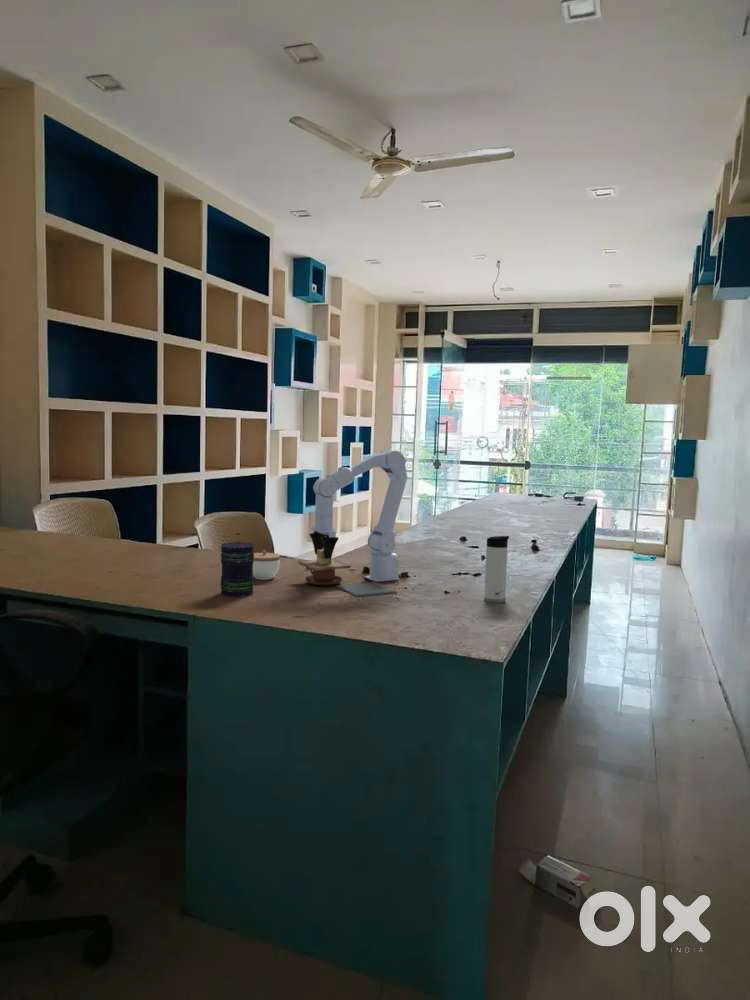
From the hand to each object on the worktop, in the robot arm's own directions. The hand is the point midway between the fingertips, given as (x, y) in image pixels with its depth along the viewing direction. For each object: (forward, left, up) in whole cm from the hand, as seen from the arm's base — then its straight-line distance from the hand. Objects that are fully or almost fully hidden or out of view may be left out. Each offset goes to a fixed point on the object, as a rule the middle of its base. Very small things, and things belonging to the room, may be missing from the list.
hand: (323, 556), depth 224 cm
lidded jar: (+15, -15, -9) cm, 23 cm away
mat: (-9, +14, -9) cm, 19 cm away
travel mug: (-39, +41, -9) cm, 57 cm away
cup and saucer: (0, 0, -10) cm, 10 cm away
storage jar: (+30, +4, -9) cm, 32 cm away
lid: (0, 0, -3) cm, 3 cm away
